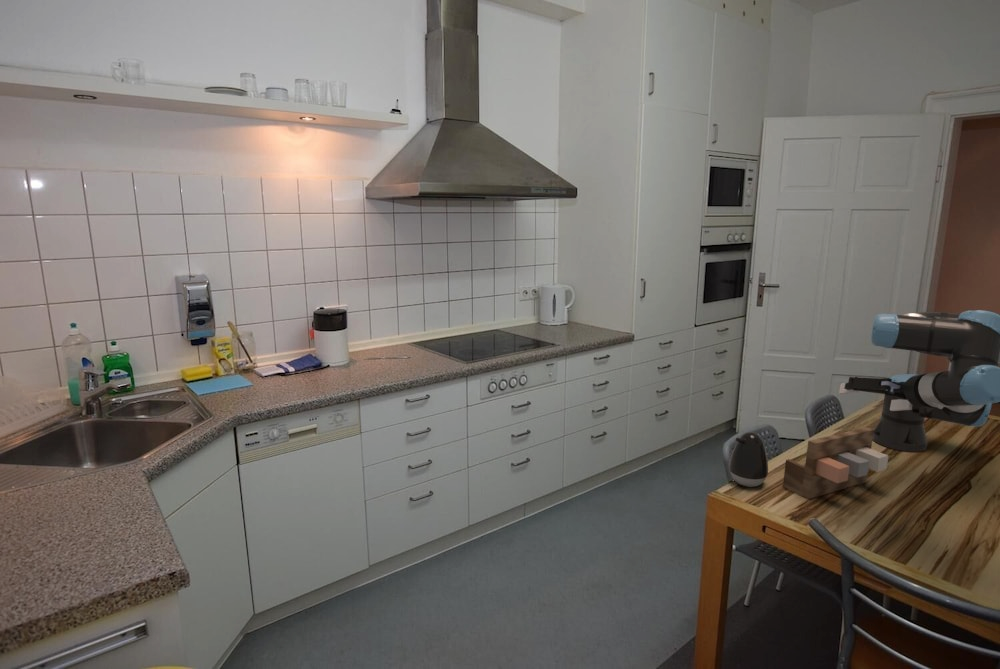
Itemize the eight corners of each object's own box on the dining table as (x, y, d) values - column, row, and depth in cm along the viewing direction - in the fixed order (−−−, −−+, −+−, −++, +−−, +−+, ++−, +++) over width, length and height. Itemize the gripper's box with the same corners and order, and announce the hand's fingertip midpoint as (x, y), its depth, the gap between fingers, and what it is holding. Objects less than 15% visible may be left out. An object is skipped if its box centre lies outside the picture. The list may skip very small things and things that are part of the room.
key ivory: (858, 457, 162) (859, 444, 161) (886, 469, 155) (888, 455, 154) (848, 460, 160) (850, 447, 159) (877, 472, 153) (879, 458, 152)
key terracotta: (819, 468, 155) (821, 454, 154) (847, 480, 148) (849, 466, 147) (809, 470, 154) (811, 457, 153) (837, 483, 147) (839, 469, 146)
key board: (839, 470, 169) (846, 420, 166) (866, 482, 162) (873, 429, 159) (782, 486, 160) (788, 433, 156) (808, 499, 153) (815, 443, 149)
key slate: (839, 462, 159) (841, 449, 158) (867, 474, 151) (869, 460, 151) (829, 465, 157) (831, 452, 156) (857, 477, 150) (859, 463, 149)
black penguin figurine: (719, 478, 165) (723, 428, 162) (747, 472, 168) (752, 424, 165) (745, 494, 155) (750, 442, 152) (774, 487, 159) (780, 436, 156)
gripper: (875, 388, 124) (817, 395, 145) (984, 424, 124) (910, 426, 145) (881, 356, 125) (823, 368, 146) (989, 392, 125) (915, 398, 146)
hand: (866, 397), depth 145 cm, fingers open, 13 cm apart
